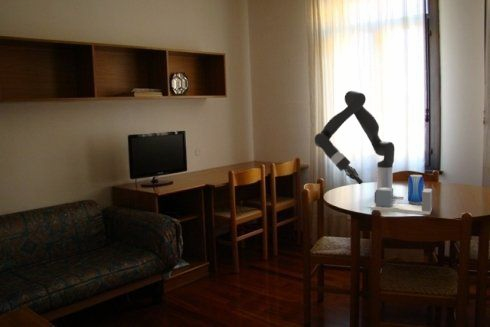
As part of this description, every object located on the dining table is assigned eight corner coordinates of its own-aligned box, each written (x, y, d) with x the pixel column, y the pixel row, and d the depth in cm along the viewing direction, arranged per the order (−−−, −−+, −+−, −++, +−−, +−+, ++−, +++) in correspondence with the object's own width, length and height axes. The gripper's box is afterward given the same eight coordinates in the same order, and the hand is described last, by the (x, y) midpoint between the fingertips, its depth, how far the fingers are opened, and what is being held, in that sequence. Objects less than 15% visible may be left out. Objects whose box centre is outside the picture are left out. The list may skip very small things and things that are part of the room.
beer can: (407, 200, 268) (408, 174, 265) (423, 201, 265) (423, 174, 262) (407, 204, 260) (408, 176, 258) (423, 204, 257) (424, 177, 255)
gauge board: (375, 204, 260) (375, 185, 258) (431, 209, 246) (432, 188, 245) (370, 209, 249) (371, 189, 248) (429, 214, 236) (430, 192, 234)
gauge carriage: (377, 202, 257) (377, 186, 256) (404, 204, 251) (404, 188, 249) (373, 206, 249) (373, 189, 248) (401, 208, 242) (401, 191, 241)
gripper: (341, 157, 252) (363, 180, 248) (347, 155, 264) (368, 177, 260) (332, 166, 256) (353, 189, 252) (338, 163, 267) (359, 185, 263)
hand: (361, 183), depth 256 cm, fingers closed
